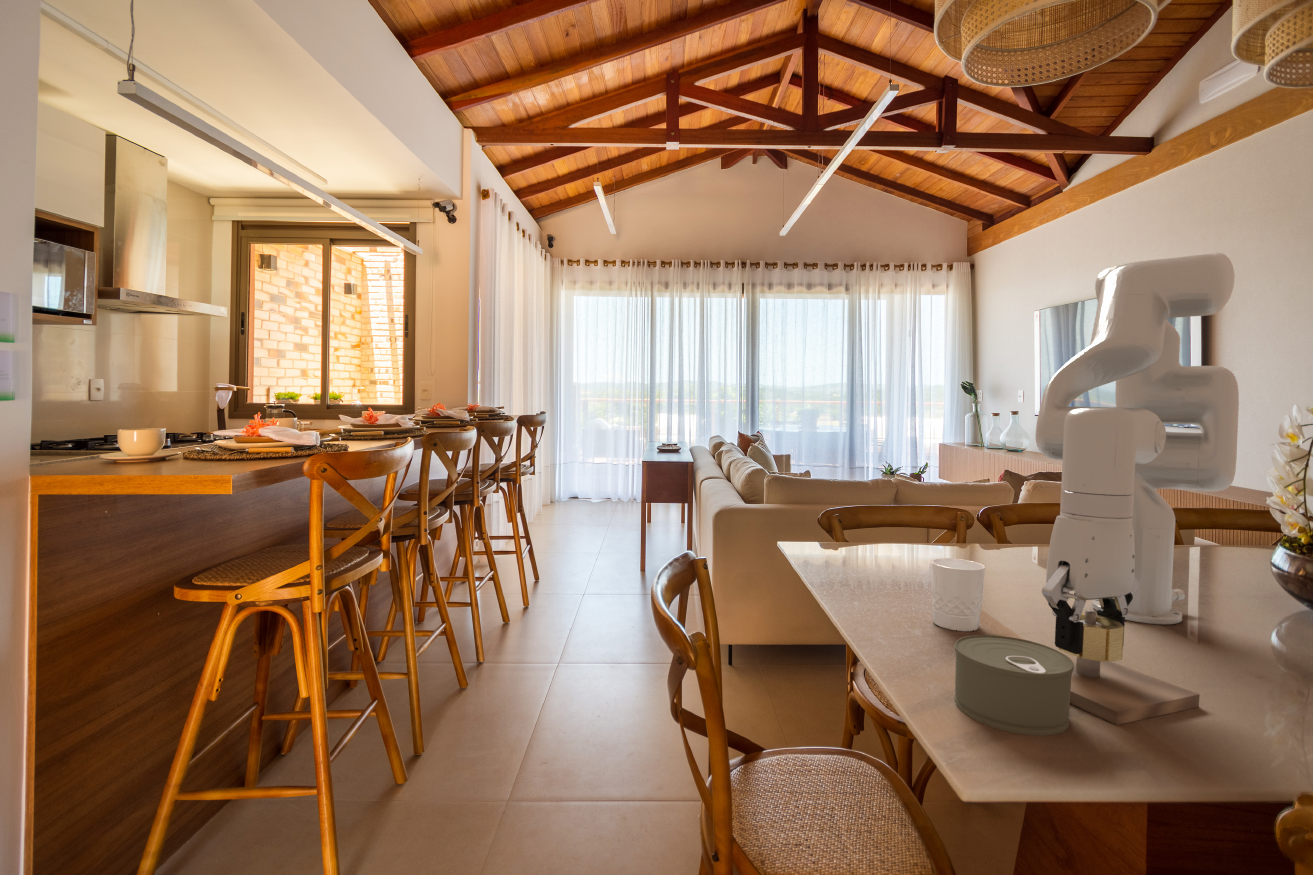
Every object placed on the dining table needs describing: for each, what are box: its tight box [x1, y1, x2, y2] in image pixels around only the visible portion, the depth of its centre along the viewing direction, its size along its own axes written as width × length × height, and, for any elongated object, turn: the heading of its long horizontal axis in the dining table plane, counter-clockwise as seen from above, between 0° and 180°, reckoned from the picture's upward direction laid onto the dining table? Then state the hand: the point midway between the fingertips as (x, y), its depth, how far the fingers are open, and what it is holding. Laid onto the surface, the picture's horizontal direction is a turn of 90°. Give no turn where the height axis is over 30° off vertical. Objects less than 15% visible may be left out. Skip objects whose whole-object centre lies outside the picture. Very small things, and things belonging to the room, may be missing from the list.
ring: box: [1059, 612, 1125, 662], centre depth 82 cm, size 7×7×4 cm
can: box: [954, 634, 1074, 737], centre depth 75 cm, size 12×12×7 cm
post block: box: [1049, 609, 1201, 726], centre depth 82 cm, size 14×17×10 cm
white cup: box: [930, 557, 986, 632], centre depth 104 cm, size 8×8×10 cm
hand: (1088, 645), depth 82 cm, fingers closed on ring, 6 cm apart
